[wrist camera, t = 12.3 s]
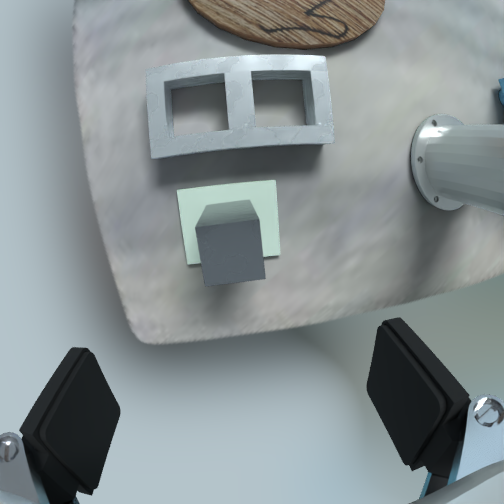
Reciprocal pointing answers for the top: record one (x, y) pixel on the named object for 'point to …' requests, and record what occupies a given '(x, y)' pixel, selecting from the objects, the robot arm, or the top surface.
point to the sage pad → (256, 191)
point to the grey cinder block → (239, 103)
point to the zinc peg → (230, 243)
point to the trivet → (292, 20)
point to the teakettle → (501, 91)
